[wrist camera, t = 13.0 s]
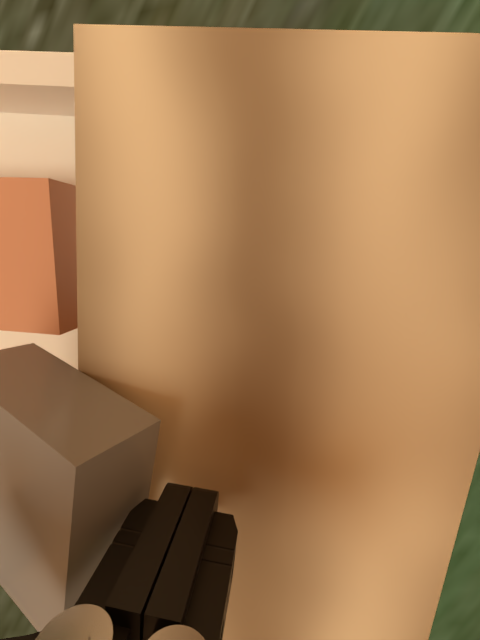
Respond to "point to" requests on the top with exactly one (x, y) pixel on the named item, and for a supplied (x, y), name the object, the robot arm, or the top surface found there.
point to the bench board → (292, 299)
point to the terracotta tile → (38, 256)
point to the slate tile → (63, 477)
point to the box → (38, 147)
